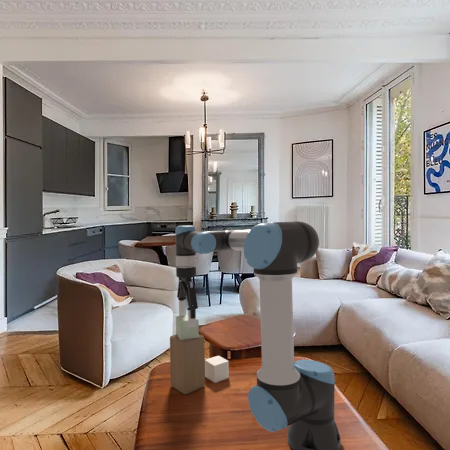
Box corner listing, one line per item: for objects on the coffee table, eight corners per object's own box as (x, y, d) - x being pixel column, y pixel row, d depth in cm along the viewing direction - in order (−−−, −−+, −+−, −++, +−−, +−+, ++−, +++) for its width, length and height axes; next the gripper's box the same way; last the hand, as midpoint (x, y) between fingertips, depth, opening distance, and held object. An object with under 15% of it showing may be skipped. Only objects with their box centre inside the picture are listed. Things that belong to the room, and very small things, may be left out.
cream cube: (228, 378, 146) (228, 361, 145) (214, 383, 141) (214, 365, 141) (218, 371, 151) (218, 355, 151) (204, 376, 147) (204, 359, 147)
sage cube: (198, 337, 136) (198, 319, 135) (180, 340, 133) (180, 321, 133) (193, 331, 142) (193, 314, 142) (176, 334, 140) (175, 316, 139)
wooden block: (190, 378, 146) (189, 329, 145) (206, 386, 138) (205, 335, 138) (169, 386, 139) (168, 335, 138) (185, 396, 132) (184, 342, 131)
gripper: (206, 270, 126) (207, 330, 127) (186, 261, 149) (187, 312, 150) (185, 272, 124) (186, 333, 124) (168, 262, 147) (170, 314, 148)
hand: (187, 321), depth 137 cm, fingers open, 13 cm apart
